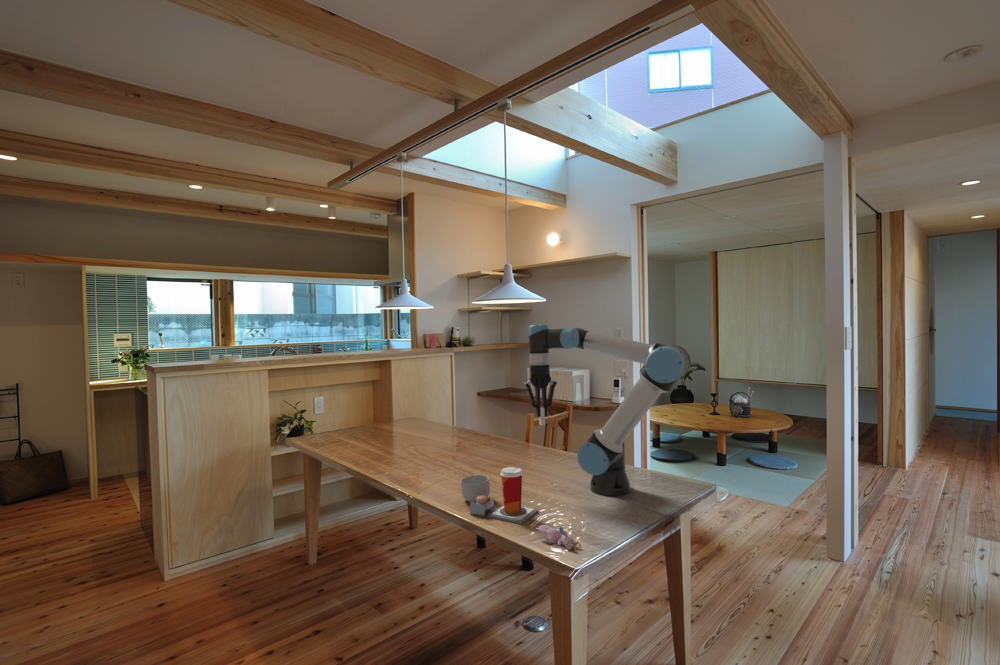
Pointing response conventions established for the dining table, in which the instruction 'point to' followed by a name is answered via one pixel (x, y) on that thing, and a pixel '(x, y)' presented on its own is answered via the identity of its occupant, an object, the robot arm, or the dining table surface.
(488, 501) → the button housing
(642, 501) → the dining table surface
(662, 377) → the robot arm
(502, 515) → the board
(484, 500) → the button
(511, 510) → the paper cup
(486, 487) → the teacup
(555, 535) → the pink unicorn toy
